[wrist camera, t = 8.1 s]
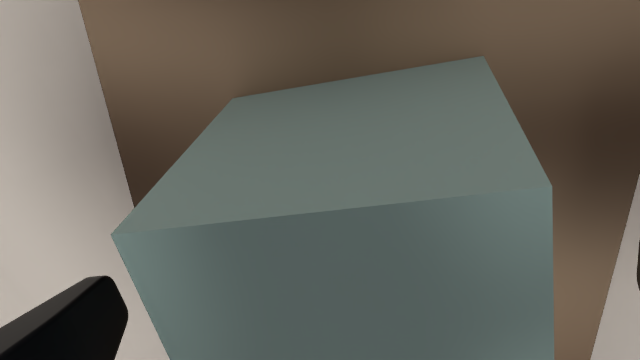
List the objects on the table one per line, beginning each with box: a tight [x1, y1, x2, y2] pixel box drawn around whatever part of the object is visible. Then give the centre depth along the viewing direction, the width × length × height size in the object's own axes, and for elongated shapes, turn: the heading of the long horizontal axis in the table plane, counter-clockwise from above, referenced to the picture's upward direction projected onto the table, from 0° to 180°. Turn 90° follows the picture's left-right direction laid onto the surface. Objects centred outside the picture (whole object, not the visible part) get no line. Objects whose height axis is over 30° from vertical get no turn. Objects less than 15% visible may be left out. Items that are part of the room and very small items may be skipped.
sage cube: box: [111, 56, 554, 360], centre depth 9 cm, size 5×5×5 cm
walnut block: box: [78, 0, 640, 360], centre depth 13 cm, size 11×11×5 cm
